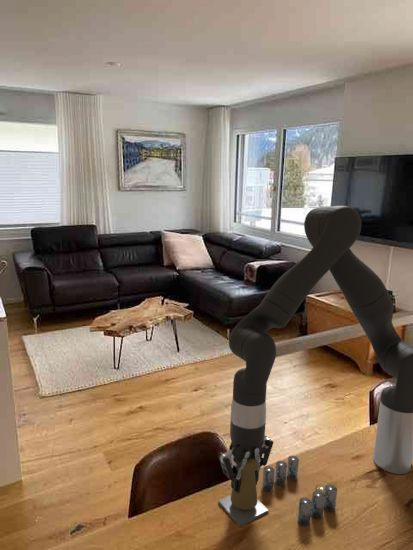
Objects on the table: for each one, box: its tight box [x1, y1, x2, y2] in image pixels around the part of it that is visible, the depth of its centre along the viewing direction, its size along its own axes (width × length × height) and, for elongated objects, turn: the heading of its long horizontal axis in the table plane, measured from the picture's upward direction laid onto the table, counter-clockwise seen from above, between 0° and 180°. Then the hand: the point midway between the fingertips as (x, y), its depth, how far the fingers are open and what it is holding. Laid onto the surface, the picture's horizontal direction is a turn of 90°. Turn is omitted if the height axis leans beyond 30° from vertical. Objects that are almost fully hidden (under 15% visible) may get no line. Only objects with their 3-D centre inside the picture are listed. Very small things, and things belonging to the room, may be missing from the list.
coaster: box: [218, 494, 269, 527], centre depth 93 cm, size 8×8×1 cm
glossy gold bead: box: [314, 483, 327, 495], centre depth 99 cm, size 3×3×1 cm
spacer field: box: [261, 455, 338, 527], centre depth 96 cm, size 11×15×5 cm
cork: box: [230, 458, 258, 510], centre depth 92 cm, size 6×6×11 cm
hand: (244, 486), depth 92 cm, fingers closed on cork, 4 cm apart
